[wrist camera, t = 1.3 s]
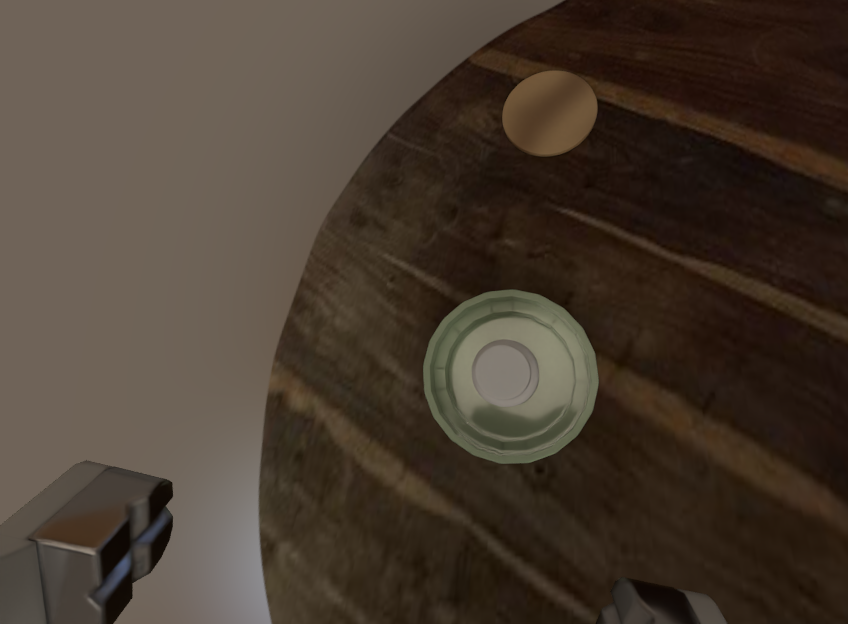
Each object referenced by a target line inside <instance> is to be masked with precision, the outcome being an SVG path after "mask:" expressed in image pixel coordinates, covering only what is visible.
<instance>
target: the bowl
mask: <svg viewBox="0 0 848 624" xmlns="http://www.w3.org/2000/svg"><path fill="white" fill-rule="evenodd" d="M504 339H507V340H513V341H516V342H519V343H521V344H523V345H524V346H526V347H527V348H528V349H529V350H530V351H531V352H532V353H533V355H534V356H535V358H536V360H537V363H538V367H539V381H538V386H537V388H536V390H535V392H534V394H533V395H532V396H531V397H530V398H529V399H528V400H527V401H526V402H524V403H522V404H520V405H517V406H513V407H500V406H496V405H493V404H491V403H489V402H487V401H486V400H485V399H483V398H482V397H481V396H480V395H479V393H478V392H477V390H476V389H475V386H474V384H473V380H472V365H473V361H474V359H475V357H476V355H477V353H478V352H479V351H480V350H481V349H482V348H483V347H484V346H485V345H487V344H488V343H490V342H493V341H496V340H504ZM423 375H424V393H425V396H426V398H427V401H428V404H429V406H430V409H431V412H432V415H433V417H434V419H435V420H436V421H437V422H438V424H439V425H440V426H441V428H442V429H443V430H444V432H445V433H446V434H447V435H448V437H449V438H450V439H451V440H452V441H454V442H455V443H456V444H458V445H459V446H461V447H462V448H464V449H465V450H466V451H468V452H469V453H471V454H472V455H474V456H478V457H481V458H484V459H487V460H490V461H494V462H497V463H501V464H503V463H530V462H533V461H536V460H538V459H541V458H544V457H547V456H550V455H552V454H555V453H557V452H558V451H559V450H560V449H562V448H563V447H564V446H565V445H567V444H568V443H569V442H570V441H571V440H573V439H574V438H575V437H576V436H577V435H578V434H579V433H580V431H581V430H582V428H583V426H584V425H585V423H586V421H587V420H588V418H589V416H590V415H591V413H592V411H593V408H594V404H595V399H596V394H597V389H598V385H599V383H598V382H599V379H598V371H597V363H596V355H595V352H594V350H593V348H592V346H591V344H590V342H589V339H588V337H587V335H586V333H585V331H584V329H583V328H582V327H581V326H580V325H579V323H578V322H577V321H576V320H575V319H574V318H573V317H572V316H571V315H570V314H569V313H568V312H567V311H566V310H565V309H564V308H563V307H561V306H559V305H557V304H556V303H554V302H552V301H550V300H548V299H547V298H545V297H543V296H541V295H539V294H534V293H529V292H524V291H519V290H514V289H513V290H512V289H511V290H501V291H491V292H485V293H483V294H481V295H478V296H476V297H474V298H471V299H469V300H467V301H464V302H463V303H461V304H460V305H459V306H458V307H457V308H455V309H454V310H453V311H452V312H451V313H450V314H448V315H447V316H446V317H445V318H444V319H443V320H442V322H441V323H440V325H439V326H438V328H437V330H436V331H435V333H434V334H433V336H432V338H431V339H430V341H429V345H428V349H427V352H426V356H425V360H424V364H423Z"/></svg>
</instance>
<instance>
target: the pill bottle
mask: <svg viewBox="0 0 848 624" xmlns="http://www.w3.org/2000/svg"><path fill="white" fill-rule="evenodd" d="M472 380H473V384H474V386H475V389H476V390H477V392H478V393H479V395H480V396H481V397H482V398H483V399H485V400H486V401H487V402H489V403H491V404H493V405H496V406H500V407H513V406H517V405H520V404H522V403H524V402H526V401H527V400H528V399H529V398H530V397H531V396H532V395H533V394H534V392H535V390H536V388H537V386H538V381H539V367H538V363H537V360H536V358H535V356H534V355H533V353H532V352H531V351H530V350H529V349H528V348H527V347H526V346H524V345H523V344H521V343H519V342H516V341H513V340H507V339H504V340H496V341H493V342H490V343H488V344H487V345H485V346H484V347H483V348H482V349H481V350H480V351H479V352H478V353H477V355H476V357H475V359H474V361H473V365H472Z"/></svg>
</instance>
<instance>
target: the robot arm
mask: <svg viewBox="0 0 848 624" xmlns="http://www.w3.org/2000/svg"><path fill="white" fill-rule="evenodd" d="M172 497H173V489H172V482H171V481H169V480H167V479H163V478H159V477H154V476H150V475H147V474H142V473H138V472H134V471H130V470H126V469H122V468H118V467H112V466H108V465H103V464H99V463H95V462H91V461H87V460H86V461H83V462H80V463H78V464H75V465H74V466H73V467H71V468H70V469H69V470H68V471H66V472H65V473H64V474H63V475H61V476H60V477H59V478H58V479H57V480H55V481H54V482H53V483H52V484H50V485H49V486H48V487H47V488H45V489H44V490H43V491H42V492H41V493H40V494H38V495H37V496H36V497H34V498H33V499H32V500H31V501H29V502H28V503H27V504H26V505H25V506H24V507H22V508H21V509H20V510H18V511H17V512H16V513H15V514H14V515H12V516H11V517H10V518H9V519H7V520H6V521H5V522H4V523H2V524H1V525H0V624H113V623H114V622H115V621H116V619H117V618H118V616H119V615H120V614H121V612H122V611H123V610H124V608H125V607H126V606H127V604H128V603H129V602H130V600H131V599H132V583H134V582H135V581H137V580H138V579H141V578H142V577H144V576H146V575H148V574H149V573H151V571H152V570H153V568H154V567H155V565H156V564H157V563H158V561H159V560H160V558H161V557H162V555H163V552H164V550H165V548H166V546H167V544H168V542H169V540H170V536H171V531H172V527H173V516H172V514H171V513H170V511H169V510H168V509H167V507H166V505H167V503H168V502H169V501H170V500H171V498H172ZM610 592H611V595H612V598H613V601H614V602H613V603H611V604H609V605H608V606H606V607H604V608H602V609H601V612H600V614H599V617H598V619H597V621H596V624H727V622H726V620H725V619H724V617H723V615H722V613H721V612H720V610H719V608H718V606H717V605H716V603H715V602H714V601H713V600H712V599H711V598H710V597H709V596H708V595H706V594H701V593H696V592H692V591H687V590H682V589H675V588H673V587H668V586H663V585H658V584H653V583H648V582H644V581H639V580H634V579H629V578H624V577H621V578H620V579H618V580H617V581H615V583H614V585H613V587H612V589H611V591H610Z"/></svg>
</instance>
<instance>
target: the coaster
mask: <svg viewBox="0 0 848 624" xmlns="http://www.w3.org/2000/svg"><path fill="white" fill-rule="evenodd" d="M596 116H597V100H596V96H595V94H594V92H593V90H592V88H591V87H590V86H589V85H588V83H587V82H586V81H584V80H583V79H582V78H580V77H579V76H577V75H575V74H572V73H569V72H565V71H545V72H541V73H537V74H535V75H532V76H530V77H528V78H527V79H525V80H523V81H522V82H521V83H519V84H518V85H517V86H516V87H515V88H514V89H513V90H512V92H511V93H510V95H509V96H508V98H507V100H506V102H505V105H504V108H503V114H502V122H503V128H504V131H505V134H506V136H507V137H508V139H509V140H510V142H511V143H512V144H513V145H514V146H515V147H516V148H518V149H519V150H521V151H523V152H525V153H527V154H530V155H534V156H541V157H548V156H555V155H559V154H562V153H565V152H568V151H569V150H571V149H573V148H575V147H576V146H578V145H579V144H580V143H581V142H582V141H583V140H584V139H585V138H586V137H587V136H588V135H589V133H590V132H591V130H592V128H593V126H594V123H595V120H596Z"/></svg>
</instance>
